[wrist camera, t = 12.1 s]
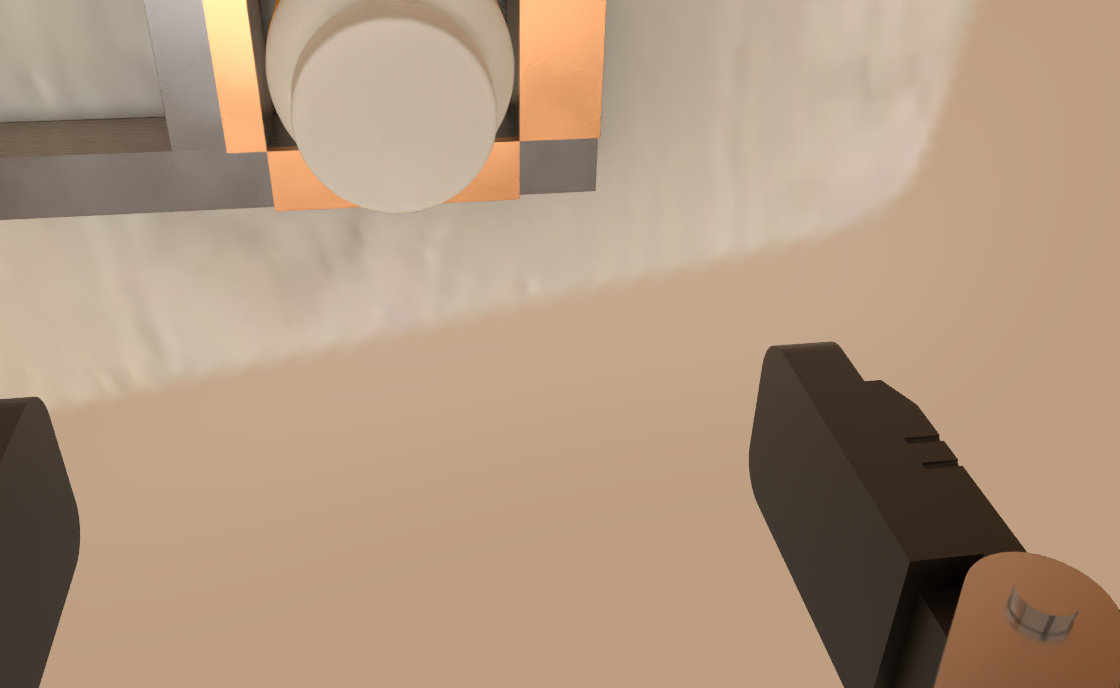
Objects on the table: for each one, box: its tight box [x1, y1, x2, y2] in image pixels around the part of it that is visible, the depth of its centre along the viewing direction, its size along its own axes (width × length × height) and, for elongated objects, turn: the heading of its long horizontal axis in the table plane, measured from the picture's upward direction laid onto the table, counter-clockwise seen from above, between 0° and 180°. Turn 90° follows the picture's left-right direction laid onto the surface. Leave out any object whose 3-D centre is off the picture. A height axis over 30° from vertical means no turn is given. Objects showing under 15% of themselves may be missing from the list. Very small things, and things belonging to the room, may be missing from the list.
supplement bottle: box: [265, 0, 514, 213], centre depth 24 cm, size 5×5×10 cm
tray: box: [0, 0, 606, 220], centre depth 26 cm, size 10×20×3 cm, turn 89°
